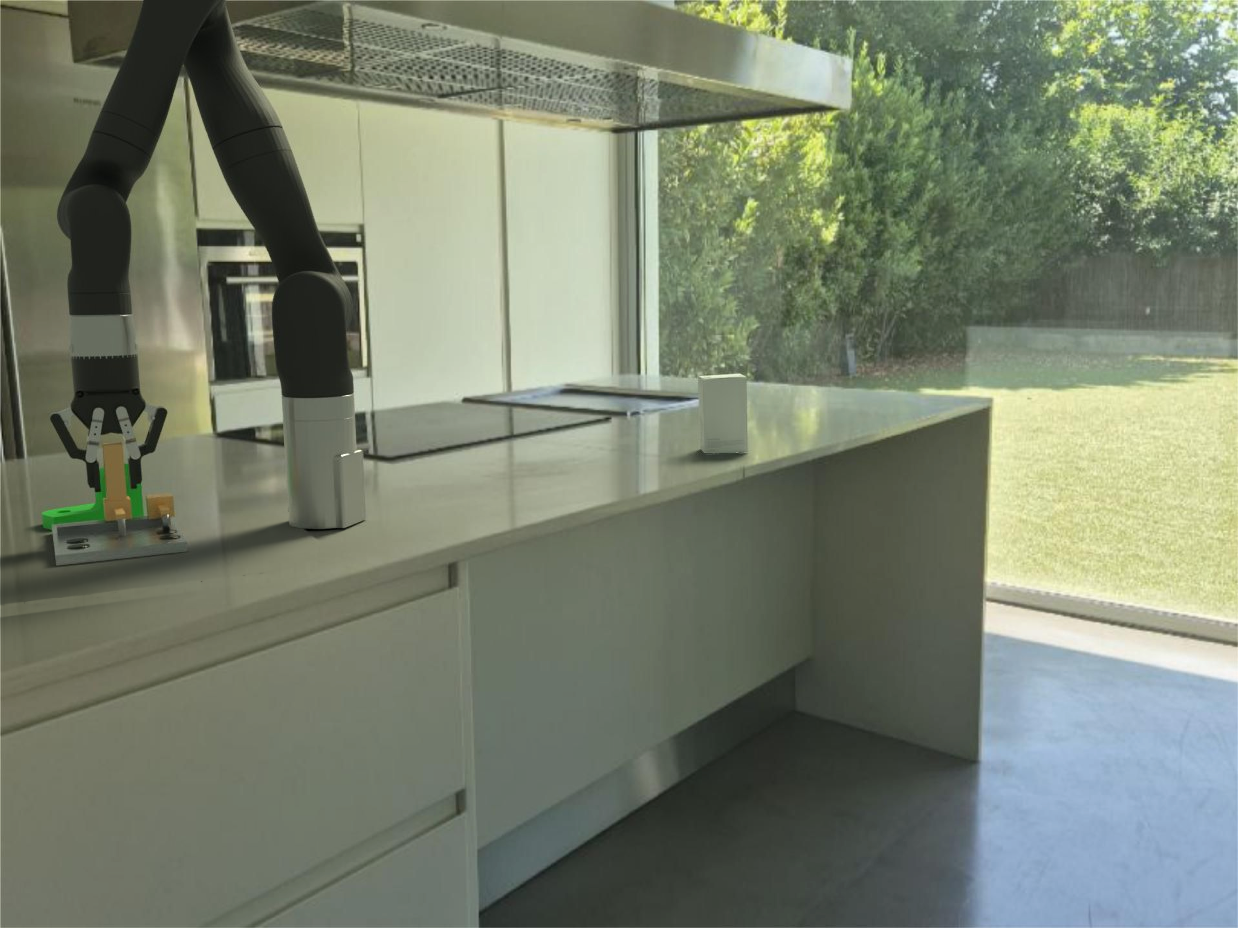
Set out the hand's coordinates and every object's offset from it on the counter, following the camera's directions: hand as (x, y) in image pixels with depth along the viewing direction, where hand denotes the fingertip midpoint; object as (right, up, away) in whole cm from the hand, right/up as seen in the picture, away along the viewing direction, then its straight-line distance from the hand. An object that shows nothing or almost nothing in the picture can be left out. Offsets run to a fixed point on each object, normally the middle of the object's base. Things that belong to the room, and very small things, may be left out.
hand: (115, 489), depth 141 cm
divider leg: (+1, -5, -1) cm, 5 cm away
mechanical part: (-9, -5, +12) cm, 16 cm away
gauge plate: (+1, -7, -2) cm, 7 cm away
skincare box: (+82, +4, +64) cm, 105 cm away
